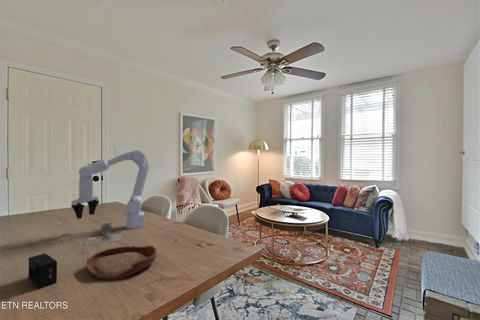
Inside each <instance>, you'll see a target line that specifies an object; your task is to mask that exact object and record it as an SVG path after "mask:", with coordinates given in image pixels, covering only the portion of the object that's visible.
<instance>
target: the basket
mask: <svg viewBox="0 0 480 320" xmlns="http://www.w3.org/2000/svg"><path fill="white" fill-rule="evenodd" d="M156 259H157V248H156V247H154V246H153V245H147V246H146V245H145V246H118V247H115V248H113V247H112V248H107V249H103V250H99V251H98V252H95V253H93V254H91V256H89V257H88V258H87V261H86V267H87V270H88V272H89V273H90V274H91V275H92V276H94V277H96V278H97V279H101V280H102V279H103V280H111V281H112V280H120V279H125V278H126V277H129V276H131V275H133V274H135V273H137V272H139V271H141V270H143V269H145V268H147V267H148V266H150V265H151V264H153V263H154V261H156Z"/></svg>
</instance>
